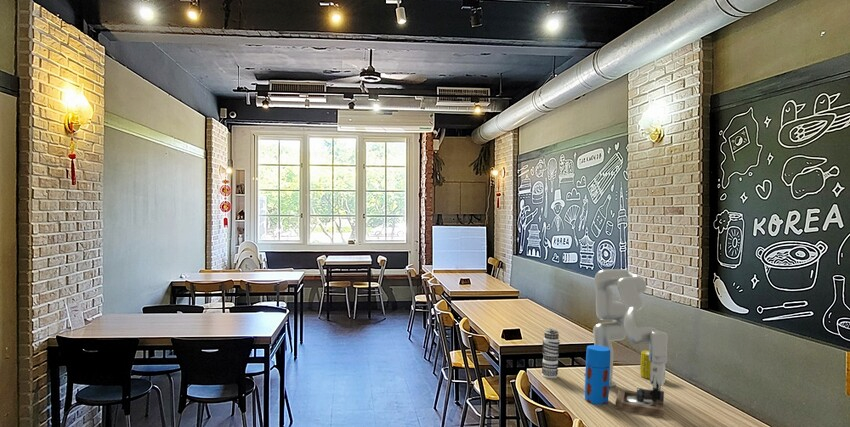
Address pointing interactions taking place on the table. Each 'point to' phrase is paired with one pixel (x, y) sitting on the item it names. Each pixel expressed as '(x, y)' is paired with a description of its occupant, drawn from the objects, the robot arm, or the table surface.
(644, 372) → the food
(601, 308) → the robot arm
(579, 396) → the table surface
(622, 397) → the wooden frame
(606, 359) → the thermos
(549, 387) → the table surface
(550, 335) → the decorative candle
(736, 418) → the table surface
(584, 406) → the table surface
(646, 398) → the dial
